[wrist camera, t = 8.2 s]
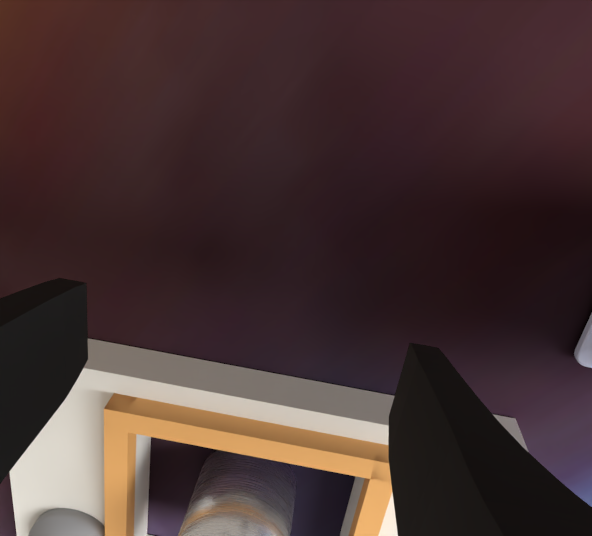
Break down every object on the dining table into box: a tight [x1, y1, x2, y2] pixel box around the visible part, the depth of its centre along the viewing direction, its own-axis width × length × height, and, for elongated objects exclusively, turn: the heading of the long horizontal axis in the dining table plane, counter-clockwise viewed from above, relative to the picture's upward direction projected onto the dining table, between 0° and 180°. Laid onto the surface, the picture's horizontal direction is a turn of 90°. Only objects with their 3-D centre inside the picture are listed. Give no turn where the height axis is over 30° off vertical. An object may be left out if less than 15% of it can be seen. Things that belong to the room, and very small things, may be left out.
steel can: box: [178, 450, 297, 536], centre depth 24 cm, size 5×5×6 cm
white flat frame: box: [9, 338, 528, 536], centre depth 25 cm, size 22×15×3 cm
